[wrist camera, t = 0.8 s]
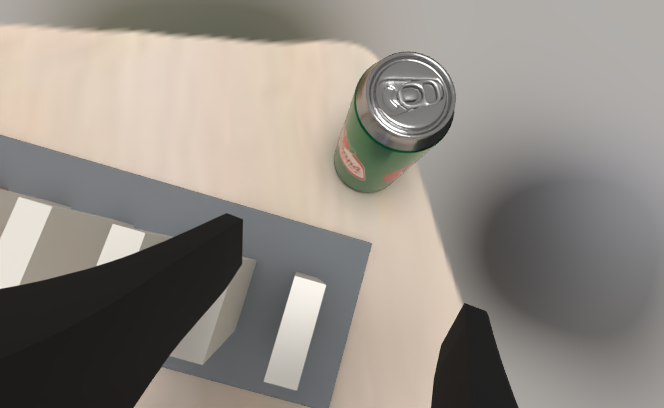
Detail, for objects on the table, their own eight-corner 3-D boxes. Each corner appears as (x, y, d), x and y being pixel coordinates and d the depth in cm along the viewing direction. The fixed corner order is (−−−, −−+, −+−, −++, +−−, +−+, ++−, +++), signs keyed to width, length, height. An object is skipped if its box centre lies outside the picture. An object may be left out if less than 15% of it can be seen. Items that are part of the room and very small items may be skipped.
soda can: (327, 136, 29) (347, 50, 17) (390, 126, 30) (450, 37, 18) (340, 199, 29) (369, 154, 17) (403, 188, 29) (475, 137, 17)
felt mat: (327, 409, 26) (327, 411, 26) (-121, 288, 25) (-128, 288, 25) (370, 243, 28) (371, 243, 28) (-41, 123, 27) (-46, 121, 27)
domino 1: (134, 225, 27) (52, 206, 18) (107, 295, 26) (7, 311, 17) (112, 219, 27) (18, 196, 18) (84, 288, 26) (-28, 302, 17)
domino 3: (257, 260, 27) (236, 259, 18) (235, 330, 26) (202, 364, 17) (235, 254, 27) (204, 250, 18) (212, 324, 26) (168, 355, 17)
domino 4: (317, 277, 27) (326, 284, 18) (297, 347, 26) (296, 390, 17) (295, 271, 27) (294, 275, 18) (275, 341, 26) (263, 381, 17)
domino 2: (196, 243, 27) (145, 233, 18) (171, 313, 26) (106, 338, 17) (174, 236, 27) (112, 223, 18) (149, 306, 26) (71, 329, 17)
